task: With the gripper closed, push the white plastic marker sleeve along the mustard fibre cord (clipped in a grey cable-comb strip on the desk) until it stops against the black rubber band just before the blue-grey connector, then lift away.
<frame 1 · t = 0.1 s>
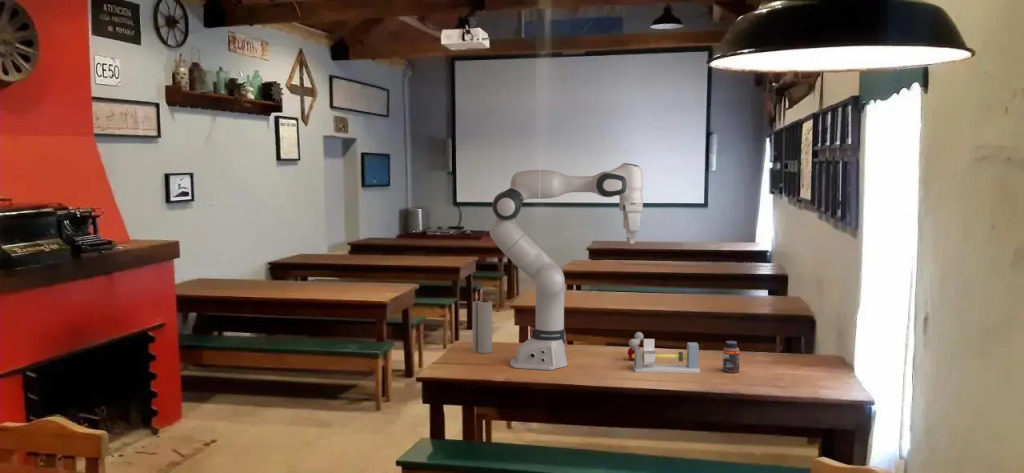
hand: (630, 242, 302), 48 cm above the table, fingers open, 8 cm apart
cord rig: (665, 369, 299), on the table
supplement bottle: (730, 372, 297), on the table
grey grooved column: (483, 352, 328), on the table
marker sleeve: (648, 351, 299), point 7 cm above the table, slide at 0.0 cm
molecular model: (634, 360, 315), on the table
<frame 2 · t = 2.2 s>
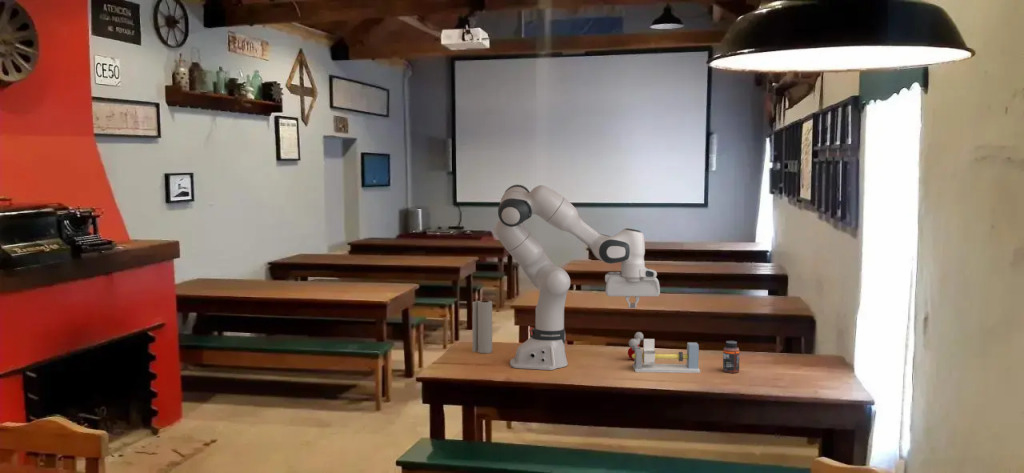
hand: (632, 308, 298), 23 cm above the table, fingers closed
nothing on the table moved.
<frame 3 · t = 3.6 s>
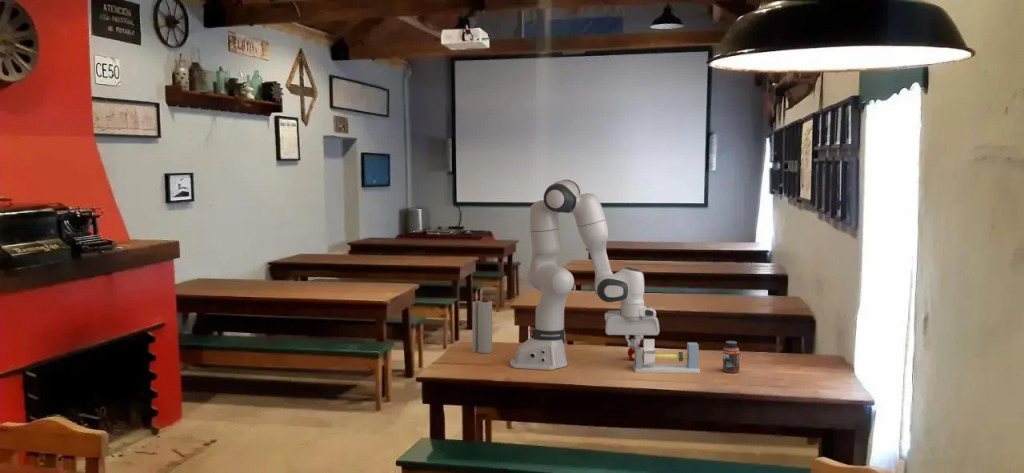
hand: (631, 346, 299), 9 cm above the table, fingers closed
nothing on the table moved.
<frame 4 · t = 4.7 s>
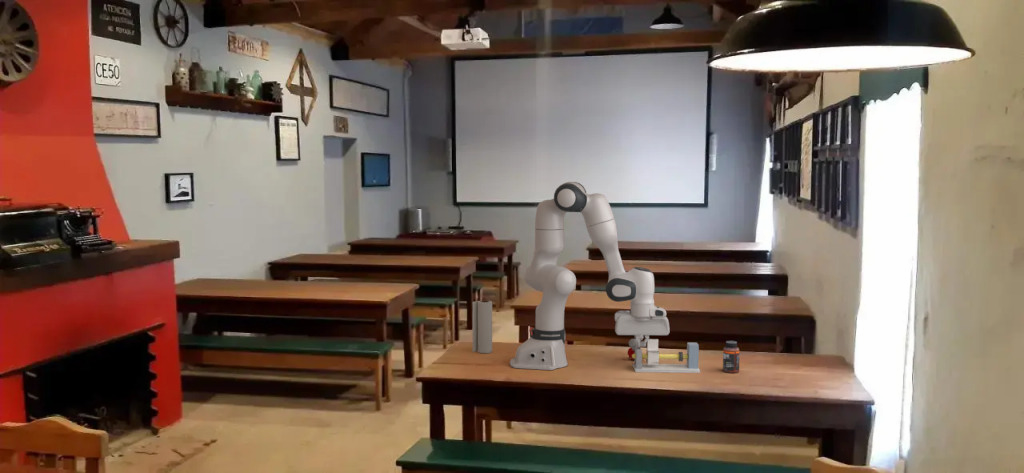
hand: (641, 346, 299), 9 cm above the table, fingers closed
marker sleeve: (652, 351, 299), point 7 cm above the table, slide at 1.4 cm, touching gripper
everything else where it was.
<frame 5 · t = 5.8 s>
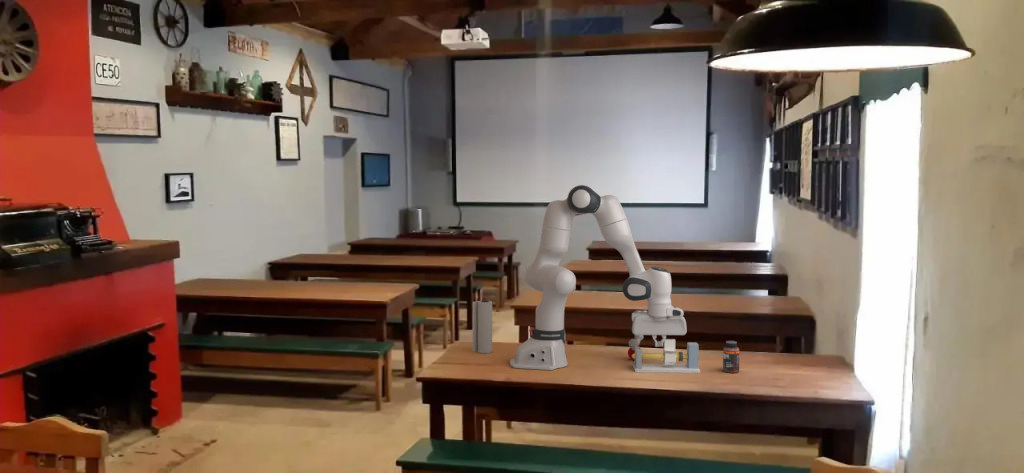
hand: (658, 346, 299), 9 cm above the table, fingers closed
marker sleeve: (669, 351, 299), point 7 cm above the table, slide at 7.8 cm, touching gripper
everything else where it was.
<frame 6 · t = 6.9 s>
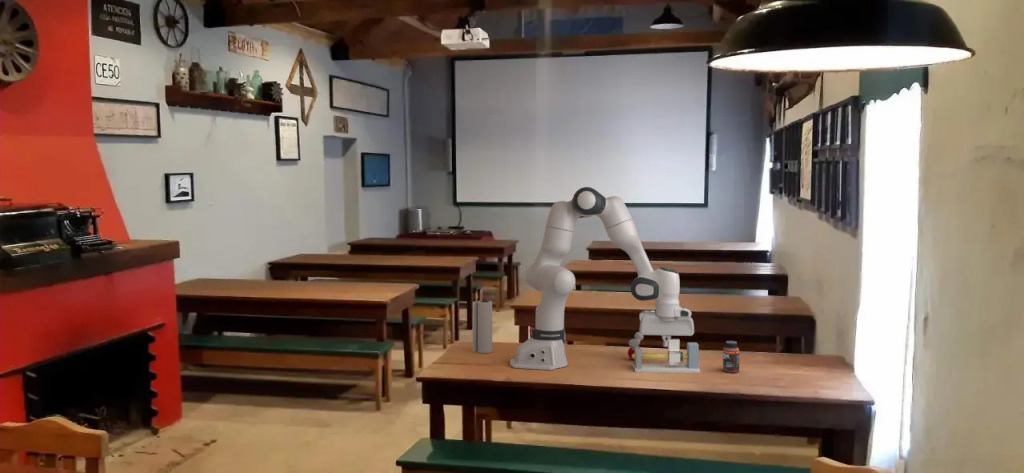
hand: (666, 346, 299), 9 cm above the table, fingers closed, pressing on marker sleeve
marker sleeve: (673, 351, 299), point 7 cm above the table, slide at 9.4 cm, touching cord rig, gripper
everything else where it was.
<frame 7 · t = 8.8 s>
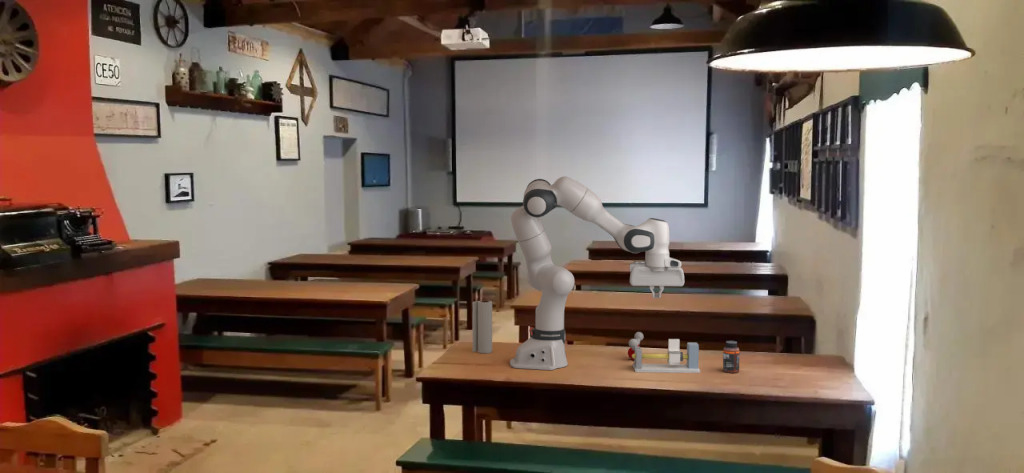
hand: (656, 297, 298), 27 cm above the table, fingers closed
marker sleeve: (673, 351, 299), point 7 cm above the table, slide at 9.4 cm
everything else where it was.
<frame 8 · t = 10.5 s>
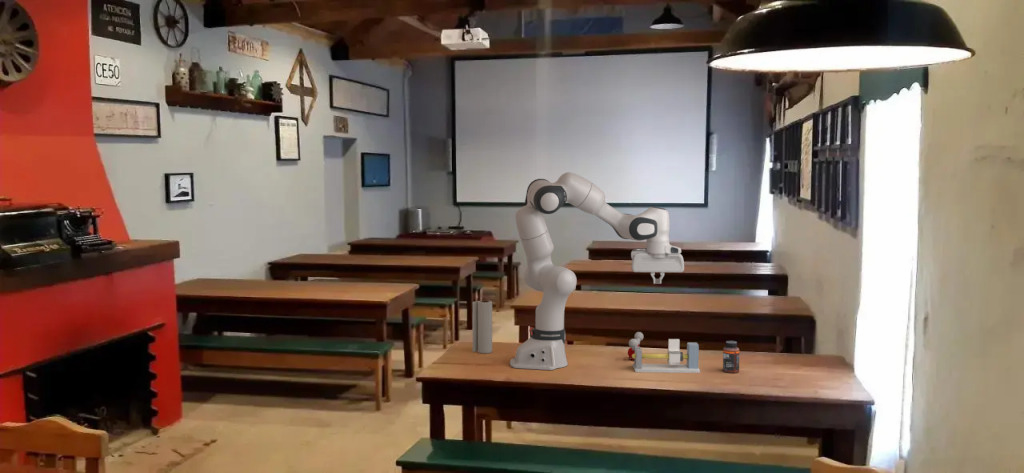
hand: (657, 283, 309), 31 cm above the table, fingers closed
nothing on the table moved.
at the end: marker sleeve slide at 9.4 cm; the gripper is holding nothing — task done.
